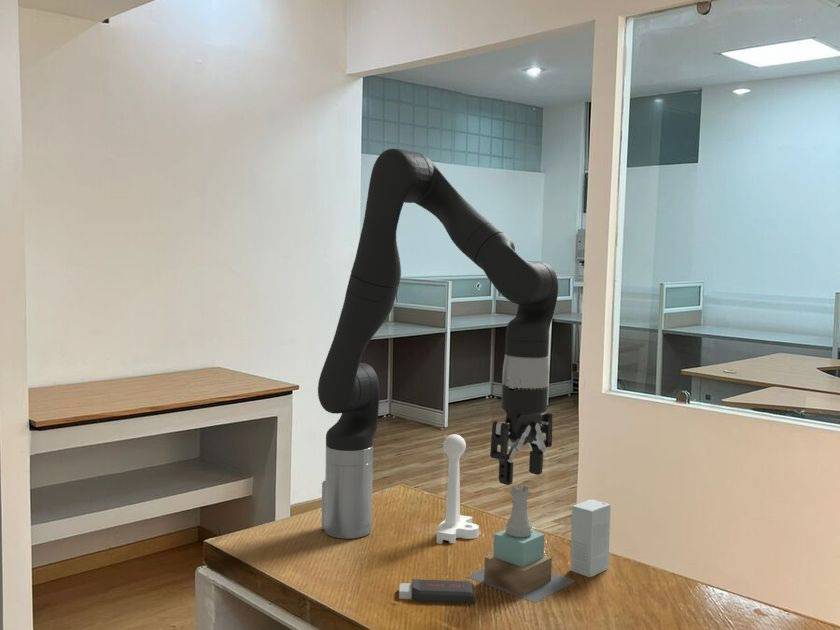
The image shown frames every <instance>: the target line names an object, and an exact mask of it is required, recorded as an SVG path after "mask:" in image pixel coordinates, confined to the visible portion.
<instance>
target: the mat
mask: <svg viewBox="0 0 840 630" xmlns="http://www.w3.org/2000/svg"><path fill="white" fill-rule="evenodd" d="M484 569H485V568H482V569H480V570H478V571H476V572H474V573H471V574H470V575H466V578H468V579H471V580H473V581H476V582H478V583H482V584H483V585H487V586H489V587H492V588H495V589H497V590H500V591H502V592H504V593H507V594H510V595H513V596H515V597H518V598H521V599H523V600H526V601H529V602H531V603H534V604H536V603H538V602H540V601H542V600H544V599H545V598H548V597H549V596H551V595H553V594H555V593H557V592H558V591H560V590H562V589H564V588H566V587H568V586H569V585H572V584H573V583H575V582H576V580H574V579H572V578H569V577H566V576H564V575H560V574H557V573H555V572H552V571H551V581H549V582H547V583H546V584H544V585H542V586H540V587H538V588H536V589H534V590H532V591H530V592H528V593H526V594H524V595H522V594H519V593H517V592H514V591H511V590H509V589H506V588H503V587H501V586H498V585H495V584H493V583H490V582H487V581H485V580H484Z"/></svg>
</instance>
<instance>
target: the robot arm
mask: <svg viewBox="0 0 840 630" xmlns="http://www.w3.org/2000/svg"><path fill="white" fill-rule="evenodd" d="M370 174H371V175H370V179H369V185H368V193H367V198H366V203H365V205H366V206H365V212H364V217H363V222H362V227H361V232H360V236H359V240H358V241H359V242H358V245H357V249H356V253H355V258H354V262H353V265H352V268H351V271H350V275H349V280H348V283H347V286H346V292H345V296H344V301H343V305H342V309H341V311H340V312H341V313H340V315H339V320H338V323H337V326H336V330H335V334H334V336H333V339H332V342H331V345H330V348H329V350H328V354H327V356H326V359H325V360H324V364H323V367H322V369H321V372H320V375H319V379H318V386H317V397H318V401H319V404H320V406H321V407H322V408H323V410H324V411H326V412H327V413H329V414H333V415H334V414H337V415H338V414H340V417H339V419H338V420H337V422H336V423H334V424H333V425H332V426H331V427H330V428H329V429H328V430H327V431H326V434H325V477H324V478H325V479H324V480H323V481H322V483H321V529H322V530H323V531H324V533H325V534H326V535H328V536H329V537H332V538H338V539H346V540H347V539H359V538H362V537H365V536H369V534H370V533H371V532H372V520H373V519H372V518H373V517H372V515H373V514H372V513H373V470H374V469H373V468H374V467H373V463H374V462H373V461H374V460H373V457H374V446H373V445H374V437H375V435H376V432H377V429H378V426H379V423H378V421H379V411H380V410H379V408H380V383H379V378H378V377H379V376H378V375H377V373H376V371H375V370H374V368H373V366H371V365H370V364H368V363H366V362H361V359H362V357H363V354H364V352H365V350H366V347H367V346H368V344H369V343H370V341H371V340H372V338H373V337H374V336H375V334H376V333H377V332H378V331H379V330H380V328H381V327H382V326H383V324H384V323H385V321H386V320H387V318H388V317H389V315H390V314H391V312H392V310H393V308H394V303H395V300H396V297H397V294H398V290H399V286H400V282H401V276H402V267H401V259H400V254H399V248H398V242H397V241H398V240H397V231H398V230H397V229H398V225H399V220H400V215H401V212H402V209H403V206H404V203H405V204H407V203H408V204H413V203H414V204H416V205H417V206H420V207H421V208H423V209H425V210H426V211H428V213H431V214H432V215H433V216H434V217H436V218H437V219H438V220H439V222H440V223H441V224H442V226H443V228H444V230H445V231H446V233H447V234H448V236H449V238H450V239H451V242H452V243H453V244H454V245H455V247H457V248H458V250H459V251H460V252H462V254H464V256H466V257H467V258H468V259H469V260H470V261H471V262H473V264H475V265H477V267H479V268H480V269H481V270H483V272H484V273H485V275H486V277H487V279H488V280H489V281H490V282H491V284H492V286H493V287H494V288H495V289H496V291H498V293H499V294H500V295H502V297H504V298H506V300H508V301H509V302H511V303H512V304H516V305H518V306H517V311H516V315H515V317H514V318H513V319H511V320H510V321H509V322H508V323H507V324H506V331H505V345H504V346H505V349H504V350H505V351H504V359H503V364H502V383H501V403H500V404H501V405H500V406H501V410H503V411H504V412H505V413H506V417H505V420H504V421H496V420H495V421H493V422H492V428H491V440H490V450H489V452H490V456H489V457H490V458H491V459H495V460H497V461H498V480H499V483H500V484H502V485H505V486H510V485H512V484H513V480H514V479H513V478H514V476H513V475H514V462H513V461H514V459H515V456H516V454H517V452H519V451H521V449H522V448H523V446H524V445H527V444H528V447H529V449H530V451H529V464H528V465H529V467H528V470H529V473H530V474H534V475H536V476H539V475H542V474H543V469H544V468H543V466H544V464H543V463H544V453H546V450H547V448H551V447H552V445H553V414H552V413H550V412H547V409H548V397H549V396H548V395H549V393H548V392H549V373H550V372H549V345H550V344H549V340H550V335H549V333H550V328H551V324H552V321H553V317H554V313H555V309H556V305H557V301H558V296H559V295H558V294H559V281H558V276H557V273H556V272H555V269H554V268H553V267H552V266H551V265H550V264H549V263H547V262H544V261H540V260H539V261H538V260H537V261H535V260H533V261H531V260H530V261H529V260H526V259H524V258H523V257H522V256H520V255H519V253H517V251H516V248H515V243H514V242H513V240H512V239H511V238H510V236H508V235H507V234H506V233H504V231H502V230H501V229H500V228H499V227H497V226H496V225H495V224H494V223H492V222H491V221H490V220H489V219H488V218H486V216H485V215H483V214H482V213H480V212H479V211H478V210H477V209H476V208H474V206H473V205H472V204H471V203H470V202H469V201H467V200H466V199H465V198H464V196H462V194H461V193H459V191H458V190H457V189H456V188H455V186H453V185H452V183H451V182H450V181H449V180H448V179H447V177H446V176H445V175H444V174H443V173H442V172H441V170H440V169H439V168H438V167H437V165H435V163H434V162H433V161H432V160H431V159H430V158H429V157H428V156H427V155H425V154H424V153H423V154H422V153H420V152H416V151H411V150H405V149H402V148H401V149H399V148H388V149H386V150H384V151H383V152H382V153H380V154H379V155H378V157H377V158H376V160H375V162H374V164H373V166H372V171H371V173H370ZM544 434H545V437H544ZM510 441H511V442H510ZM498 446H500V448H499V449H498ZM508 450H509V452H508Z"/></svg>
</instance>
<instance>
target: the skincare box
mask: <svg viewBox="0 0 840 630" xmlns="http://www.w3.org/2000/svg"><path fill="white" fill-rule="evenodd" d="M610 529H611V503H607V502H604V501H600V500H596V499H593V498H589V499H587V500H585V501H582V502H580V503H577V504H574V505H572V508H571V537H570V538H571V539H570V571H571V572H573V573H577V574H578V575H582V576H584V577H588V578H592V577H594V576H596V575H598V574H600V573H603V572H604V571H607V570H609V568H610V567H609V566H610V565H609V564H610V562H609V560H610V532H611V531H610Z"/></svg>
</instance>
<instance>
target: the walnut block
mask: <svg viewBox="0 0 840 630" xmlns="http://www.w3.org/2000/svg"><path fill="white" fill-rule="evenodd" d="M552 561H553V556H552V557H551V556H549V555H548V556H547V555H545V554H544V558H542V559H539V560H537V561H535V562H533V563H531V564H529V565H527V566H525V567H520V566H517V565H514V564H512V563H509V562H506V561H503V560H500V559H497V558H494V557H493V553H492V554H489V555H487V556H485V557H484V568H483V569H484V580H485V581H487V582H490V583H493V584H495V585H498V586H501V587H503V588H506V589H509V590H511V591H514V592H517V593H519V594H522V595H524V594H526V593H528V592H530V591H532V590H534V589H536V588H538V587H540V586H542V585H544V584H546V583H547V582H549V581H551V572H552V568H553V567H552V565H553V562H552Z"/></svg>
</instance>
